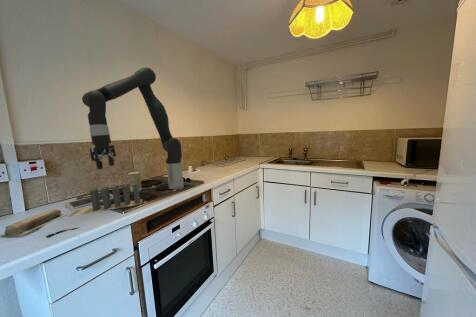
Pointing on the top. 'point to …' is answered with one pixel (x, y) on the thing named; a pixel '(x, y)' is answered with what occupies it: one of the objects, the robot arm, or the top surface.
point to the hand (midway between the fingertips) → (106, 167)
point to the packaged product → (32, 224)
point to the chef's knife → (59, 232)
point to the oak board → (102, 208)
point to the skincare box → (134, 180)
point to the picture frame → (83, 202)
